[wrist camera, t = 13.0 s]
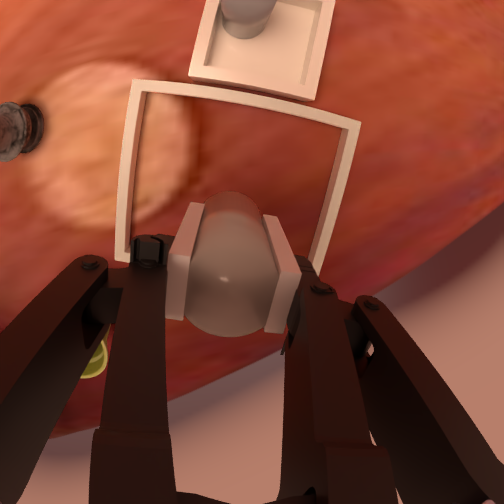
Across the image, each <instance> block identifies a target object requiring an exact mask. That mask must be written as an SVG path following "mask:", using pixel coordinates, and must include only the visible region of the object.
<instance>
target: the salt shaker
mask: <svg viewBox="0 0 504 504" xmlns="http://www.w3.org/2000/svg"><path fill="white" fill-rule="evenodd" d="M43 129H44V121H43V117H42V113H41V112H40V110H39V109H38V108H37V107H36V106H35V105H32V104H23V105H21V106H19V105H18V104H17V103H14V102H5V103H3V104H1V105H0V161H1V162H8V161H11V160H13V159H14V158H16V157H17V156H18V155H19V153H27V152H30V151H32V150H33V149H35V147H36V146H37V145H38V144H39V142H40V140H41V138H42V135H43Z"/></svg>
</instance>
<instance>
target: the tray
mask: <svg viewBox="0 0 504 504" xmlns="http://www.w3.org/2000/svg"><path fill="white" fill-rule="evenodd" d="M147 92H151V93H162V94H172V95H181V96H189V97H197V98H204V99H211V100H217V101H224V102H230V103H235V104H241V105H246V106H252V107H257V108H262V109H266V110H271V111H276V112H280V113H285V114H289V115H293V116H297V117H301V118H305V119H309V120H313V121H317V122H321V123H324V124H328V125H332V126H335V127H339V128H342V132H341V136H340V140H339V144H338V148H337V152H336V156H335V160H334V164H333V168H332V172H331V176H330V180H329V184H328V188H327V191H326V195H325V199H324V203H323V206H322V210H321V214H320V217H319V221H318V224H317V228H316V231H315V235H314V238H313V242H312V245H311V249H310V252H309V256H308V260H309V261H310V262H311V263H312V265H313V267H314V269H315V271H316V273H317V275H318V276H319V273H320V270H321V267H322V264H323V261H324V257H325V254H326V251H327V248H328V245H329V241H330V238H331V235H332V231H333V228H334V225H335V221H336V218H337V214H338V211H339V207H340V204H341V200H342V197H343V193H344V189H345V186H346V182H347V178H348V175H349V171H350V167H351V163H352V159H353V155H354V151H355V147H356V143H357V139H358V135H359V131H360V126H361V122H359V121H356V120H353V119H350V118H347V117H343V116H340V115H337V114H333V113H330V112H326V111H323V110H319V109H315V108H312V107H308V106H304V105H300V104H296V103H292V102H288V101H283V100H279V99H275V98H270V97H265V96H261V95H256V94H250V93H245V92H240V91H234V90H228V89H222V88H216V87H209V86H202V85H194V84H186V83H177V82H167V81H155V80H142V79H133V80H132V85H131V91H130V96H129V102H128V108H127V114H126V121H125V128H124V135H123V143H122V151H121V160H120V169H119V180H118V193H117V208H116V228H115V260H117V261H123V262H128V263H130V227H131V212H132V199H133V188H134V178H135V169H136V160H137V152H138V145H139V137H140V131H141V124H142V118H143V112H144V106H145V100H146V95H147Z"/></svg>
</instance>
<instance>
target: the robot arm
mask: <svg viewBox="0 0 504 504" xmlns="http://www.w3.org/2000/svg"><path fill="white" fill-rule="evenodd" d="M204 206H205V204H201V203H195V202H190V205H189V207H188V209H187V211H186V214H185V216H184V218H183V220H182V223H181V225H180V227H179V230H178V232H177V234H176V237H175V236H169V235H163V234H157V235H138V236H136V237H133V238H132V239H131V245H130V263H129V267H127V268H119V269H108V262H107V260H105V259H104V258H102V257H99V256H94V255H85V256H82V257H79V258H77V259H75V260H74V261H73V262H72V263H71V264H70V265H68V266H67V267H66V268H65V269H64V270H63V271H62V272H61V273H60V274H59V275H58V276H57V277H56V278H55V279H54V280H52V281H51V282H50V283H49V284H48V285H47V286H46V287H45V288H44V289H43V290H42V291H41V292H40V293H39V294H38V295H37V296H36V297H35V298H34V299H33V300H32V301H31V302H30V303H29V304H28V305H27V306H26V307H25V308H24V309H23V310H22V311H21V312H20V313H19V314H18V316H17V317H16V318H15V319H14V320H13V321H12V322H11V323H10V324H9V325H8V326H7V327H6V328H5V329H4V331H3V332H2V333H1V334H0V504H16V503H17V501H18V500H19V499H20V497H21V495H22V493H23V491H24V489H25V487H26V485H27V483H28V481H29V479H30V476H31V474H32V472H33V470H34V468H35V465H36V463H37V461H38V459H39V457H40V455H41V453H42V450H43V448H44V446H45V444H46V442H47V440H48V438H49V436H50V434H51V432H52V430H53V428H54V426H55V424H56V422H57V420H58V418H59V416H60V414H61V413H62V411H63V409H64V407H65V405H66V403H67V401H68V399H69V397H70V396H71V394H72V392H73V390H74V388H75V386H76V385H77V383H78V381H79V379H80V377H81V376H82V374H83V372H84V370H85V369H86V367H87V365H88V363H89V362H90V360H91V358H92V356H93V355H94V353H95V351H96V350H97V348H98V346H99V344H100V343H101V341H102V339H103V338H104V336H105V334H106V333H107V331H108V330H109V327H110V324H114V323H116V325H115V330H114V335H113V340H112V346H111V351H110V357H109V363H108V370H107V376H106V383H105V390H104V398H103V406H102V414H101V423H100V427H99V429H95V432H94V434H93V441H92V450H91V451H92V452H91V464H90V481H89V504H229V503H225V502H221V501H218V500H214V499H211V498H207V497H204V496H201V495H198V494H193V493H184V492H177V491H176V486H175V478H174V467H173V457H172V447H171V438H170V434H169V427H168V412H167V392H166V362H165V318H169V319H175V320H181V321H183V318H184V306H185V297H186V289H187V280H188V272H189V264H190V260H191V256H192V252H193V248H194V244H195V240H196V237H197V233H198V229H199V225H200V221H201V218H202V214H203V210H204ZM262 220H263V224H264V227H265V230H266V234H267V237H268V240H269V244H270V247H271V250H272V254H273V257H274V260H275V264H276V267H277V270H278V274H279V280H278V283H277V287H276V290H275V294H274V298H273V301H272V305H271V308H270V312H269V315H268V319H267V322H266V325H265V326H264V332H270V333H279V334H283V332H284V329H285V326H286V323H287V325H288V329H289V331H288V334H287V336H286V339H285V342H284V345H283V348H282V351H281V355H283V354H284V352H285V378H284V413H283V439H282V461H281V462H282V463H281V480H280V490H279V494H278V497H277V500H276V501H273V502H269V503H265V504H398V498H397V492H396V489H397V491H398V493H399V496H400V498H401V500H402V502H403V504H504V465H503V464H502V463H501V462H500V461H499V460H498V459H497V457H496V456H495V454H494V453H493V451H492V450H491V448H490V446H489V445H488V443H487V442H486V440H485V439H484V437H483V436H482V434H481V433H480V431H479V430H478V428H477V427H476V425H475V424H474V422H473V421H472V419H471V418H470V416H469V415H468V414H467V412H466V411H465V409H464V408H463V406H462V405H461V404H460V402H459V401H458V399H457V398H456V397H455V395H454V394H453V392H452V391H451V390H450V388H449V387H448V385H447V384H446V383H445V381H444V380H443V379H442V377H441V376H440V374H439V373H438V372H437V371H436V369H435V368H434V367H433V365H432V364H431V363H430V361H429V360H428V359H427V357H426V356H425V355H424V353H423V352H422V351H421V349H420V348H419V347H418V346H417V345H416V343H415V342H414V340H413V339H412V338H411V337H410V335H409V334H408V333H407V332H406V330H405V329H404V328H403V327H402V325H401V324H400V323H399V322H398V321H397V319H396V318H395V317H394V316H393V314H392V313H391V312H390V311H389V309H388V308H387V307H386V306H385V305H384V304H383V303H382V302H381V301H379V300H378V299H377V298H375V297H374V298H373V297H372V296H366V295H362V296H358V297H357V298H356V301H355V303H354V304H351V303H347V302H344V301H341V300H338V296H337V293H336V291H335V289H333V288H332V287H331V286H329V285H328V284H326V283H323V282H321V281H320V279H319V277H318V275H317V273H316V271H315V269H314V267H313V265H312V263H311V262H310V261H309V260H308V259H307V258H305V257H304V256H298V255H294V254H293V252H292V250H291V247H290V245H289V243H288V241H287V238H286V236H285V234H284V231H283V229H282V227H281V225H280V222H279V220H278V218H277V216H271V215H266V214H263V218H262ZM371 344H373V347H374V352H373V354H372V355H371V356H370V355H369V353H368V349H369V348H370V346H371ZM369 430H370V432H371V434H372V437H373V438H374V441H375V443H376V445H377V446H374V445H373V444H372V441H371V437H370V432H369Z"/></svg>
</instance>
